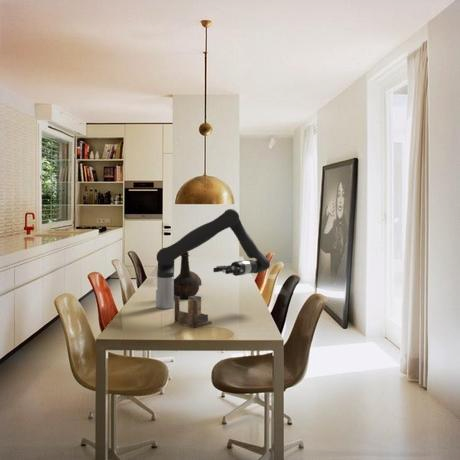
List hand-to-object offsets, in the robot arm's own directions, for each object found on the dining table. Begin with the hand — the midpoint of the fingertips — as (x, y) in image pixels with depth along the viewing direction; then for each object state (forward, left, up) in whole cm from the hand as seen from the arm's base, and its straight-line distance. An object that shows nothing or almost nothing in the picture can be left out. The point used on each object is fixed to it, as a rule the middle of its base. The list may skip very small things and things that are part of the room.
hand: (219, 271), depth 277 cm
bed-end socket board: (0, -19, -24) cm, 30 cm away
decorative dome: (-85, +56, -25) cm, 104 cm away
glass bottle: (-53, +24, -24) cm, 63 cm away
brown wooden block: (0, -18, -23) cm, 29 cm away
